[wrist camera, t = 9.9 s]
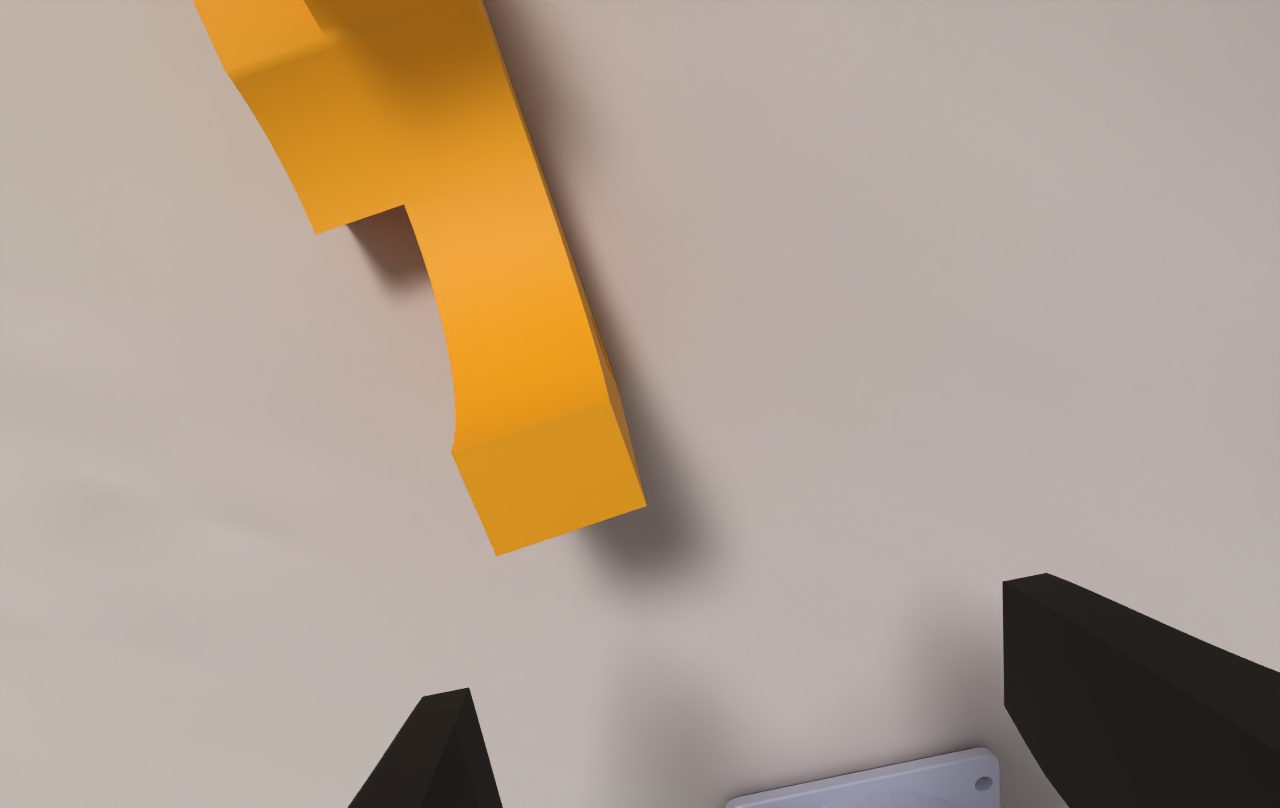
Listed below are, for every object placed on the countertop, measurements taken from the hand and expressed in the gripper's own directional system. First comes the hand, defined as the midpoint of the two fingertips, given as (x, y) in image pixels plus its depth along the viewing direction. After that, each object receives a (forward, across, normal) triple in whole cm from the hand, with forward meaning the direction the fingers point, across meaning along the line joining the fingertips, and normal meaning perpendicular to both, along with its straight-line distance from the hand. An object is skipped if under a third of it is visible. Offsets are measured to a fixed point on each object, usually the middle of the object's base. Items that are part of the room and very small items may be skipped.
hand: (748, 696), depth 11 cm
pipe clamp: (+10, +4, -7) cm, 13 cm away
